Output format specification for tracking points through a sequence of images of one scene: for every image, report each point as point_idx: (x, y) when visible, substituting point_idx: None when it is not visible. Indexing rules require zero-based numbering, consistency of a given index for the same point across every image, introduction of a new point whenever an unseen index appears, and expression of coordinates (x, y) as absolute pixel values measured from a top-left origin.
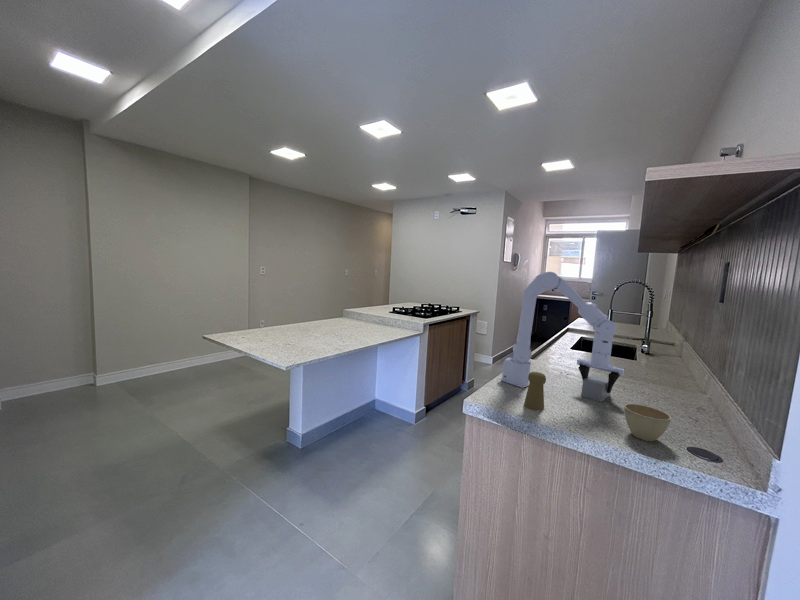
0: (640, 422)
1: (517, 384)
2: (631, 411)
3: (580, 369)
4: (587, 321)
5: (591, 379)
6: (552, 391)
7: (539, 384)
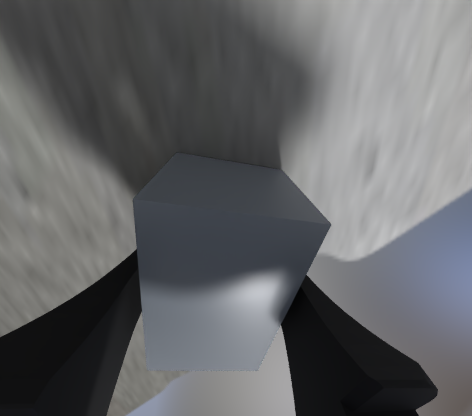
0: None
1: None
2: None
3: (399, 361)
4: None
5: (259, 283)
6: (444, 109)
7: None
